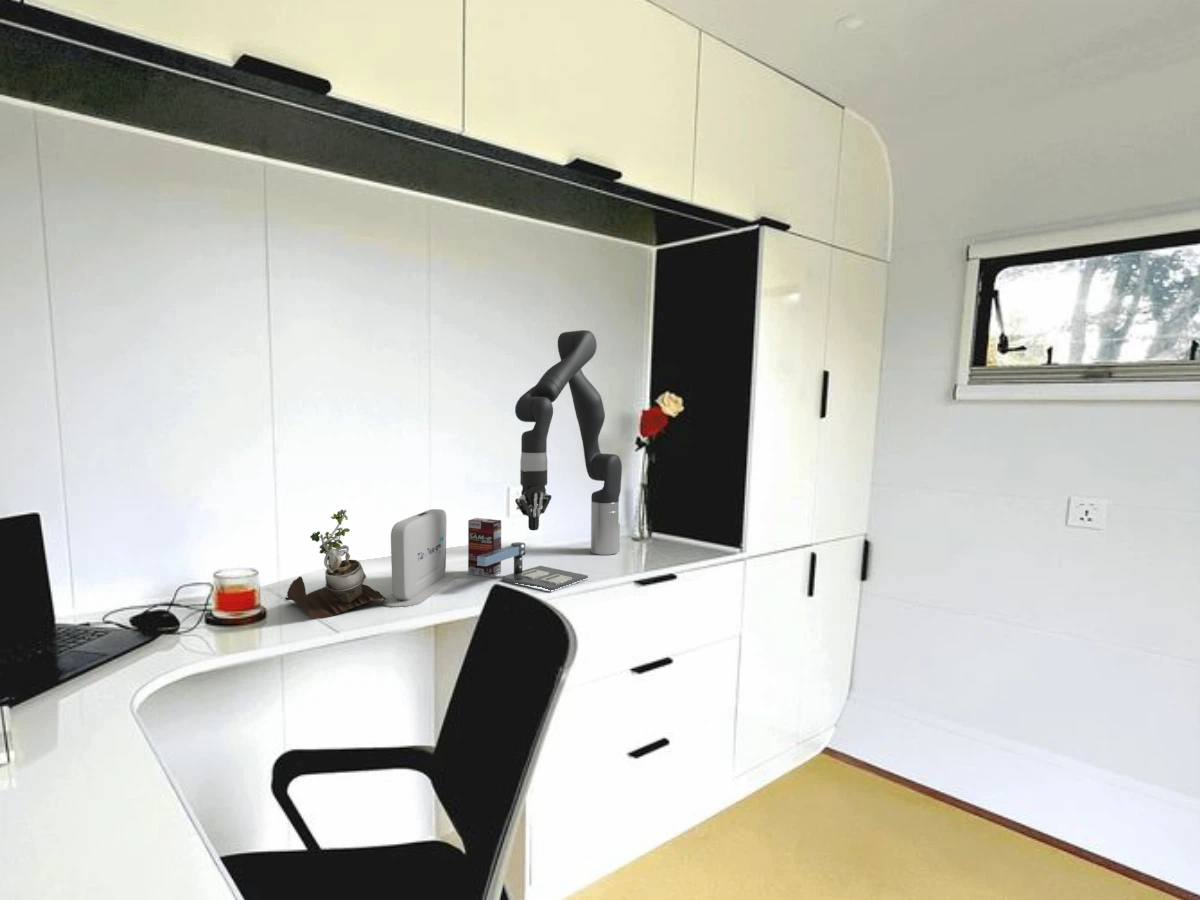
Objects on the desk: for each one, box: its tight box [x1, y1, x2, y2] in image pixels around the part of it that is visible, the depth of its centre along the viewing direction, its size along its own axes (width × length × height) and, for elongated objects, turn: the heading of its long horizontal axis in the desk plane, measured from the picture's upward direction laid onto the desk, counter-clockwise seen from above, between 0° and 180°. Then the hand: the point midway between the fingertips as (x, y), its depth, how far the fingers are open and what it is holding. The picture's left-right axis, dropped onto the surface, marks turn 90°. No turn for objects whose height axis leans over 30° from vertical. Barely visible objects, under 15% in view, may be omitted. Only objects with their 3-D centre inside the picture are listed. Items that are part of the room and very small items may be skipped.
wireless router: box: [381, 508, 456, 609], centre depth 166 cm, size 31×10×20 cm, turn 172°
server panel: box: [501, 555, 589, 591], centre depth 177 cm, size 16×19×6 cm
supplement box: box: [467, 517, 502, 578], centre depth 183 cm, size 9×5×16 cm, turn 68°
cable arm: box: [477, 541, 526, 566], centre depth 174 cm, size 19×4×3 cm, turn 153°
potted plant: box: [284, 508, 389, 619], centre depth 151 cm, size 20×19×25 cm
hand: (533, 529), depth 178 cm, fingers closed
